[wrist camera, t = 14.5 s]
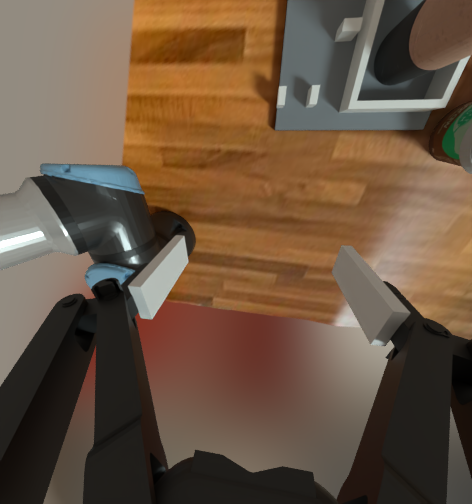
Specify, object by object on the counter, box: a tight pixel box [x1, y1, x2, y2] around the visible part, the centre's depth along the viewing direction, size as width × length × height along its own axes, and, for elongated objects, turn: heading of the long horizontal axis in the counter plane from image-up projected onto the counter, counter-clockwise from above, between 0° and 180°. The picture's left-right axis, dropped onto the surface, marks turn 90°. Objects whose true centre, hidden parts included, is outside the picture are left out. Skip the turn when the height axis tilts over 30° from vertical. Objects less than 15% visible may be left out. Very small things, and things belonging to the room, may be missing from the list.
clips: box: [276, 17, 363, 108], centre depth 27 cm, size 10×14×3 cm
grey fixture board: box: [275, 0, 436, 130], centre depth 29 cm, size 26×19×2 cm
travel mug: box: [374, 0, 472, 86], centre depth 19 cm, size 8×8×20 cm
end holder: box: [339, 0, 470, 113], centre depth 26 cm, size 14×14×4 cm
